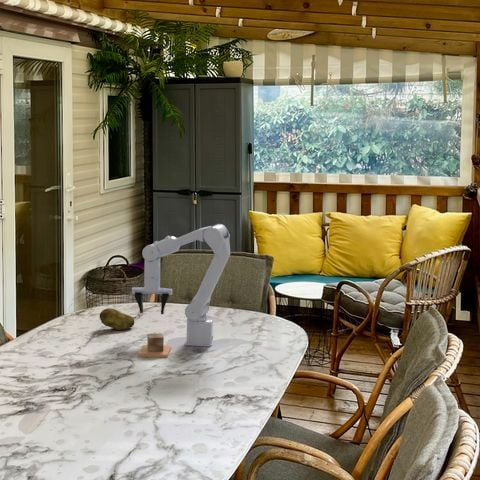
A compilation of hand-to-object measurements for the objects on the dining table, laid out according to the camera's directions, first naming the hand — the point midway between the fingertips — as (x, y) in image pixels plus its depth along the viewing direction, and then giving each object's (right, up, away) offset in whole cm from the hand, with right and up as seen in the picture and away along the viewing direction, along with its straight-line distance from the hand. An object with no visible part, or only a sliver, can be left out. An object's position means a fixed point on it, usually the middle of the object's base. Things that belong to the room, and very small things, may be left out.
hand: (151, 313), depth 273 cm
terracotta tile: (+3, -12, -15) cm, 20 cm away
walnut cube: (+3, -11, -16) cm, 19 cm away
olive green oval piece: (-15, -7, +12) cm, 20 cm away
